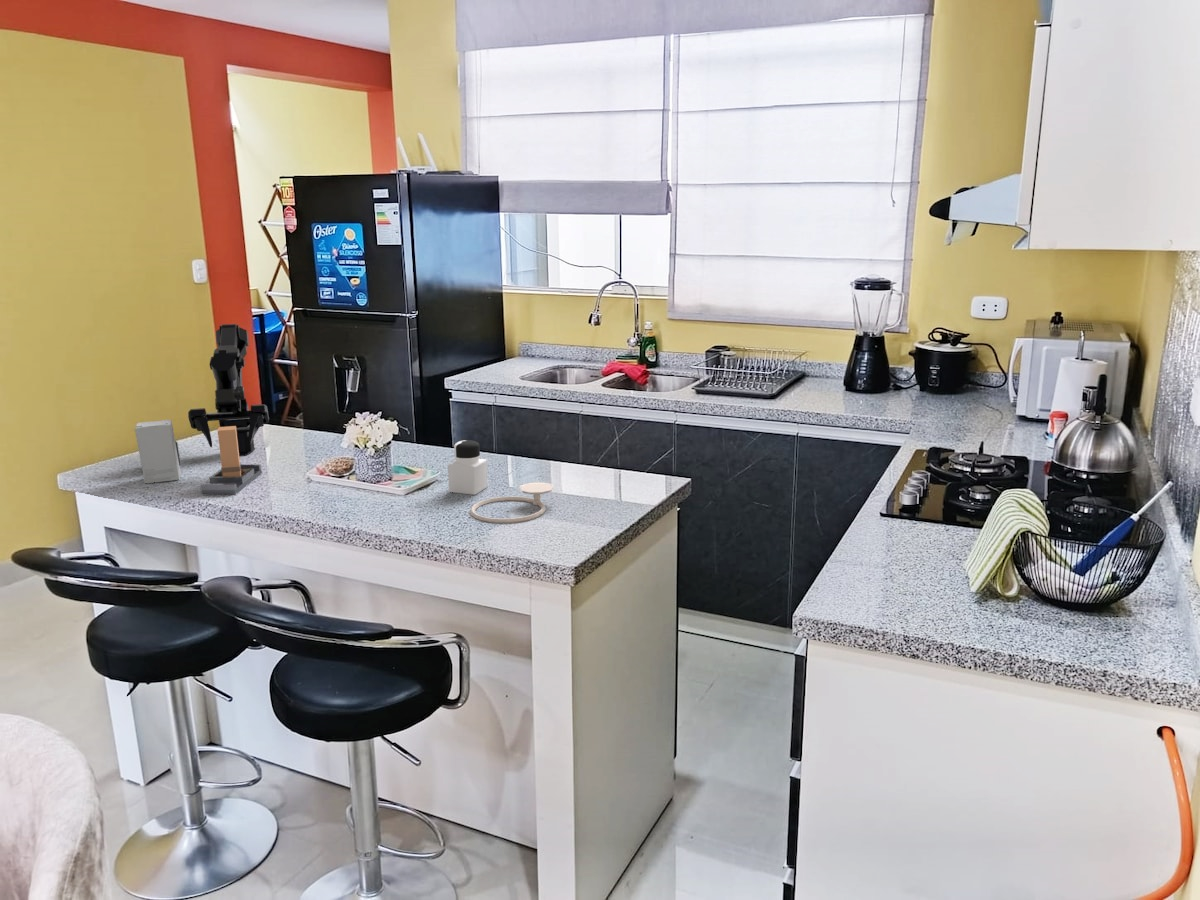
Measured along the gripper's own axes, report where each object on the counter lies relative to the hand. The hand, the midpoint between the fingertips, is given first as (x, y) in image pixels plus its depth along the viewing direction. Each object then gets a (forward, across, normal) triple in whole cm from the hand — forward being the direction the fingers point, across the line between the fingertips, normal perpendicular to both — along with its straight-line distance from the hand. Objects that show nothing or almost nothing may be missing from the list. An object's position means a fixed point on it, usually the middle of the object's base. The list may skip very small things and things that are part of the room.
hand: (230, 444), depth 230 cm
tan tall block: (+9, 0, +1) cm, 9 cm away
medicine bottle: (+27, +55, -15) cm, 63 cm away
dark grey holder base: (+10, 0, +2) cm, 10 cm away
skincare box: (+3, -17, +9) cm, 20 cm away
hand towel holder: (+40, +62, -28) cm, 79 cm away
